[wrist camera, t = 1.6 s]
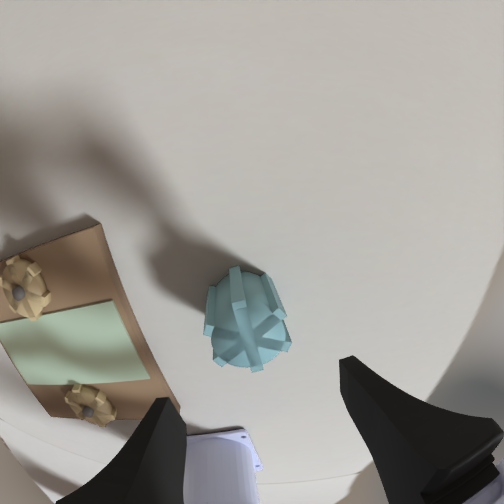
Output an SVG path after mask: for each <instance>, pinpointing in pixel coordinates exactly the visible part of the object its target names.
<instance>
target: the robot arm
mask: <svg viewBox="0 0 504 504" xmlns="http://www.w3.org/2000/svg"><path fill="white" fill-rule="evenodd" d="M339 369H340V392H341V395H342V398H343V400H344V403H345V405H346V408H347V410H348V412H349V414H350V416H351V418H352V420H353V422H354V423H355V425H356V427H357V429H358V431H359V432H360V434H361V436H362V438H363V440H364V441H365V443H366V445H367V447H368V449H369V451H370V453H371V455H372V457H373V460H374V462H375V465H376V468H377V470H378V473H379V476H380V478H381V481H382V484H383V487H384V490H385V492H386V496H387V499H388V502H389V504H504V458H503V459H502V460H501V461H500V462H499V463H498V464H497V465H496V466H495V465H494V464H493V463H492V462H493V461H494V457H493V455H492V454H491V453H492V452H493V451H494V450H495V448H496V447H497V446H498V444H499V443H500V442H501V440H502V439H503V437H504V432H503V430H502V429H501V428H500V427H499V425H498V424H497V423H496V422H495V421H494V420H493V419H492V418H482V417H475V416H468V415H464V414H459V413H455V412H451V411H448V410H445V409H442V408H439V407H436V406H433V405H430V404H428V403H426V402H424V401H422V400H419V399H417V398H415V397H413V396H411V395H409V394H408V393H406V392H404V391H402V390H401V389H399V388H397V387H396V386H394V385H393V384H391V383H389V382H388V381H387V380H385V379H384V378H382V377H381V376H379V375H378V374H376V373H375V372H374V371H372V370H371V369H370V368H369V367H367V366H366V365H365V364H363V363H362V362H361V361H360V360H358V359H357V358H356V357H355V356H353V355H352V356H350V357H347V358H344V359H340V360H339ZM261 470H263V465H262V463H261V461H260V459H259V457H258V454H257V452H256V450H255V448H254V446H253V443H252V441H251V439H250V437H249V434H248V432H247V430H245V429H239V430H233V431H227V432H220V433H212V434H204V435H195V436H187V433H186V424H185V422H184V421H183V419H182V417H181V416H180V414H179V413H178V411H177V409H176V408H175V406H174V404H173V403H172V401H171V399H170V398H169V397H161V398H156V399H155V401H154V402H153V404H152V405H151V407H150V408H149V410H148V411H147V413H146V414H145V416H144V418H143V419H142V421H141V422H140V424H139V425H138V427H137V428H136V430H135V431H134V433H133V434H132V436H131V437H130V438H129V440H128V441H127V442H126V444H125V445H124V446H123V448H122V449H121V450H120V451H119V453H118V454H117V455H116V456H115V457H114V458H113V459H112V461H111V462H110V463H109V464H108V465H107V466H106V467H105V468H104V469H103V470H101V471H100V472H99V473H98V474H97V475H96V476H95V477H94V478H92V479H91V480H90V481H89V482H87V483H86V484H85V485H83V486H82V487H80V488H79V489H77V490H76V491H74V492H73V493H71V494H69V495H67V496H65V497H64V498H62V499H60V500H58V501H56V504H260V500H259V493H258V486H257V479H256V471H261Z"/></svg>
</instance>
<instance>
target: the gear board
mask: <svg viewBox="0 0 504 504" xmlns="http://www.w3.org/2000/svg"><path fill="white" fill-rule="evenodd" d="M0 342H1V344H2V346H3V347H4V349H5V351H6V353H7V354H8V356H9V358H10V359H11V361H12V363H13V364H14V366H15V367H16V369H17V371H18V372H19V374H20V375H21V377H22V378H23V380H24V381H25V383H26V384H27V386H28V387H29V388H30V390H31V391H32V393H33V394H34V395H35V397H36V398H37V399H38V401H39V402H40V403H41V405H42V406H43V407H44V409H45V410H46V411H47V412H48V414H49V415H50V416H51V417H60V418H75V419H81V420H83V419H84V420H86V421H88V422H90V423H93V424H98V426H99V427H106V425H107V424H108V423H109V422H110V421H111V420H113V421H114V420H115V419H143V418H144V416H145V414H146V413H147V411H148V410H149V408H150V407H151V405H152V404H153V402H154V401H155V399H156V398H161V397H169V398H170V399H171V401H172V403H173V404H174V406H175V408H176V409H177V411H178V413H179V414H180V405H179V403H178V402H177V400H176V398H175V396H174V395H173V393H172V391H171V389H170V387H169V385H168V384H167V382H166V380H165V378H164V376H163V374H162V372H161V370H160V368H159V366H158V365H157V363H156V361H155V359H154V357H153V354H152V352H151V350H150V348H149V346H148V344H147V342H146V340H145V338H144V336H143V333H142V331H141V329H140V327H139V324H138V322H137V320H136V318H135V315H134V313H133V311H132V308H131V306H130V303H129V301H128V299H127V296H126V294H125V291H124V288H123V286H122V283H121V281H120V278H119V275H118V273H117V270H116V267H115V264H114V261H113V259H112V256H111V253H110V250H109V247H108V244H107V241H106V238H105V234H104V231H103V228H102V225H101V224H98V225H95V226H92V227H89V228H86V229H83V230H80V231H77V232H75V233H72V234H69V235H66V236H63V237H61V238H58V239H55V240H52V241H50V242H47V243H44V244H42V245H39V246H37V247H34V248H32V249H29V250H26V251H24V252H21V253H19V254H17V255H14V256H12V257H9V258H7V259H5V260H2V261H0Z"/></svg>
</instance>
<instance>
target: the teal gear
mask: <svg viewBox="0 0 504 504" xmlns="http://www.w3.org/2000/svg"><path fill="white" fill-rule="evenodd" d="M285 317H287V314H286V312H285V310H284V307H283V305H282V302H281V300H280V298H279V295H278V293H277V290H276V288H275V286H274V283H273V281H272V279H271V278H270V277H269V276H268V275H267V274H266V273H264V274H263V275H262V276H261V277H260V276H258V275H256V274H254V273H251V272H241V270H240V266H236V267H232V268H229V275H228V276H226V277H225V278H223V279H222V280H221V281H220V282H219V283H218V285H217V286H216V287H214V286H210V287H209V290H208V294H207V302H206V312H205V323H204V333H203V335H205V336H209V337H211V343H212V347H213V361H214V362H216V363H217V364H218V365H220V366H221V367H223V366H224V365H225V364H227V363H228V364H230V365H233V366H237V367H244V368H248V367H250V368H251V371H252V372H257V371H261V370H264V369H263V364H265V363H267V362H269V361H271V360H272V359H273V358H275V357H276V356H277V355H278V354H279V352H280V351H283V352H288V350H289V348H290V346H291V344H292V341H291V339H290V336H289V333H288V331H287V328H286V325H285V323H284V320H283V319H284V318H285Z"/></svg>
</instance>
